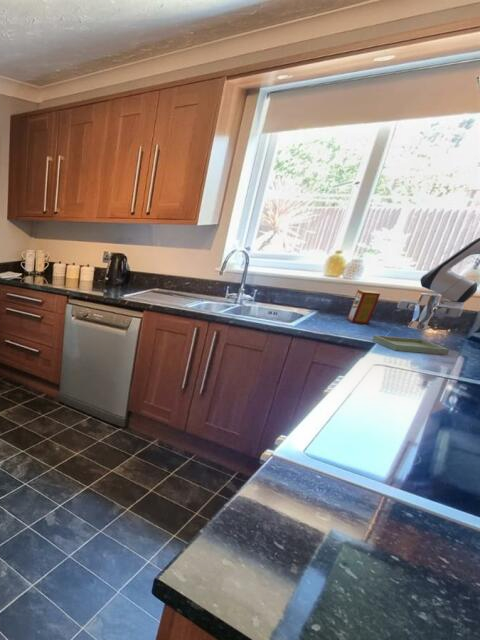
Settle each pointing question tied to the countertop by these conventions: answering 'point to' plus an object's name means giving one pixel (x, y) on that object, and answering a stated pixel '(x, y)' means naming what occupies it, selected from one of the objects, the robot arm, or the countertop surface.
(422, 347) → the tray
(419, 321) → the beer glass
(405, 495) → the countertop surface
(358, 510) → the countertop surface
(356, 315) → the baking soda box
